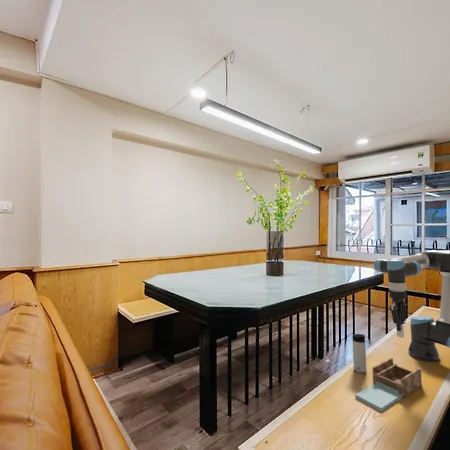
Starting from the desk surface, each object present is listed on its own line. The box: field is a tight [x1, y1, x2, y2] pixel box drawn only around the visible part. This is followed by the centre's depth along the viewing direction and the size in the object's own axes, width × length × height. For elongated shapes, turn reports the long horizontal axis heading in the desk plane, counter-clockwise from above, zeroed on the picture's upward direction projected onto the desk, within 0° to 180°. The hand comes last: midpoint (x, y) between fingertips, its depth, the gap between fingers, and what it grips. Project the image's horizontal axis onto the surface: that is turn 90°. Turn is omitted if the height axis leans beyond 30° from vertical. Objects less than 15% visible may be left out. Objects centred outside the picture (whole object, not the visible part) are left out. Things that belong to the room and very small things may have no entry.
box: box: [371, 357, 423, 400], centre depth 135 cm, size 18×14×8 cm
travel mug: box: [352, 333, 368, 375], centre depth 149 cm, size 6×7×20 cm
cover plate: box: [355, 381, 403, 412], centre depth 125 cm, size 17×12×4 cm
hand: (400, 336), depth 138 cm, fingers closed
